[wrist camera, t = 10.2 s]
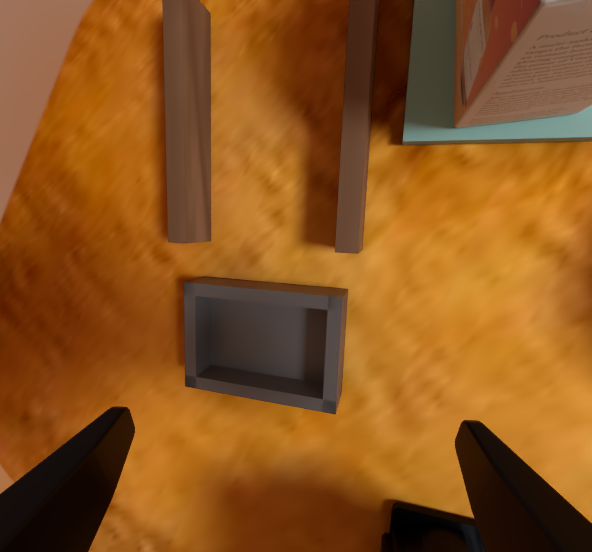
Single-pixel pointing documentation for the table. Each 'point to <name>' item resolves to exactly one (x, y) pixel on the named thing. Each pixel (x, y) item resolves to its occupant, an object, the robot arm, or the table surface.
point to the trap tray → (266, 341)
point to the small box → (521, 60)
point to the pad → (440, 92)
